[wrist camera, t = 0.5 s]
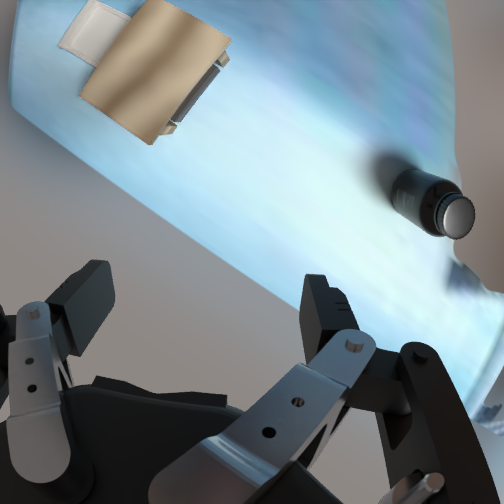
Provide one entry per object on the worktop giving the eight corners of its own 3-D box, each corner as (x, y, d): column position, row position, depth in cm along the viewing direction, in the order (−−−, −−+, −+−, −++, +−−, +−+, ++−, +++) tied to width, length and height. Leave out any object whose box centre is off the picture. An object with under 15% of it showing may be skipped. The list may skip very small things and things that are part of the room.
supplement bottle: (418, 223, 39) (463, 258, 28) (381, 204, 39) (422, 236, 28) (438, 181, 37) (490, 204, 26) (402, 159, 36) (451, 175, 25)
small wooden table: (104, 98, 34) (78, 95, 27) (168, 12, 29) (151, -6, 23) (166, 141, 36) (148, 145, 30) (236, 52, 32) (231, 38, 25)
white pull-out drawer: (66, 48, 30) (57, 45, 28) (98, 2, 28) (91, -3, 25) (138, 93, 34) (131, 92, 31) (176, 43, 31) (171, 38, 29)
